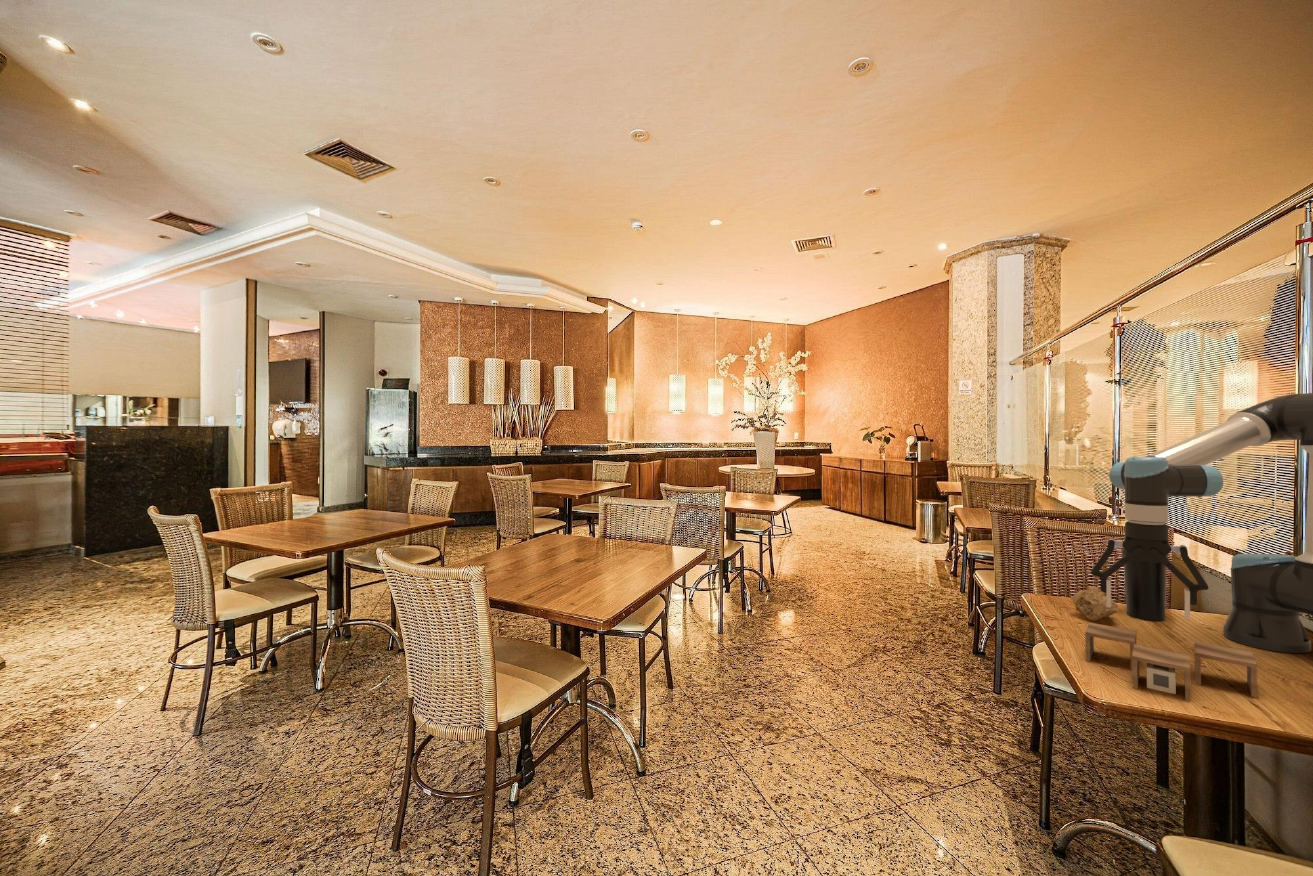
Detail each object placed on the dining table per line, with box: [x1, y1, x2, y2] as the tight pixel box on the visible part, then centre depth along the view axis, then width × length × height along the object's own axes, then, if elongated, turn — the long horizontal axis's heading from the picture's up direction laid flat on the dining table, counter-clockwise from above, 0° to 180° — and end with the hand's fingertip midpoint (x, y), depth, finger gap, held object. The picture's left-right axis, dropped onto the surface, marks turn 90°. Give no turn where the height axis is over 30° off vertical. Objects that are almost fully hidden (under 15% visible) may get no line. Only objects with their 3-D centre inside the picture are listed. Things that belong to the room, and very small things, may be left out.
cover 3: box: [1193, 640, 1258, 698], centre depth 117 cm, size 9×9×7 cm
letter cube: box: [1146, 663, 1177, 695], centre depth 116 cm, size 5×4×5 cm
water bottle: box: [1121, 547, 1169, 623], centre depth 160 cm, size 10×10×23 cm
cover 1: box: [1084, 622, 1138, 671], centre depth 131 cm, size 9×9×7 cm
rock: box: [1070, 585, 1119, 622], centre depth 158 cm, size 12×10×10 cm
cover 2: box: [1131, 644, 1192, 702], centre depth 116 cm, size 9×9×7 cm
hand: (1146, 612), depth 126 cm, fingers open, 13 cm apart
